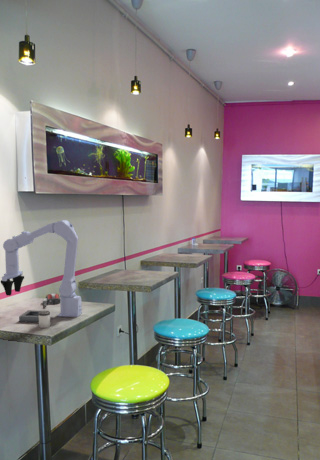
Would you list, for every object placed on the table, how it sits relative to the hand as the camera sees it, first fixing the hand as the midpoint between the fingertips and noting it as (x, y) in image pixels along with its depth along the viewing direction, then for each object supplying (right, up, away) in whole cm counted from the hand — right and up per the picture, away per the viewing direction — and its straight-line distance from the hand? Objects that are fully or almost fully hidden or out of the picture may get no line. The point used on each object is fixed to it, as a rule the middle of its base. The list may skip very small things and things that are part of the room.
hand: (13, 293), depth 197 cm
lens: (+19, -11, -17) cm, 28 cm away
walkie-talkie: (+12, -9, +22) cm, 26 cm away
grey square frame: (+12, -11, -7) cm, 17 cm away
